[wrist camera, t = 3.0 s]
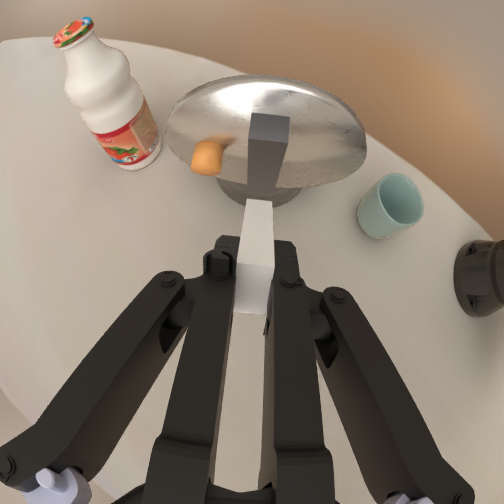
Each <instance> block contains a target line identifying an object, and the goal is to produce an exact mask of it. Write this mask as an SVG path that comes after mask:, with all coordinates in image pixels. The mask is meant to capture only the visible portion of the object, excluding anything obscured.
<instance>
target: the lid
mask: <svg viewBox="0 0 504 504" xmlns="http://www.w3.org/2000/svg"><path fill="white" fill-rule="evenodd" d="M166 141H167V143H168V146H169V148H170V149H171V150H172V152H173V153H174V154H175V155H176V156H177V157H178V158H179V159H180V160H182V161H183V162H184V163H186V164H188V165H189V166H191V170H192V171H193V172H195V173H197V174H200V175H206V176H214V177H217V178H220V179H224V180H228V181H232V182H237V183H241V184H247V195H248V196H258V197H267V198H272V196H273V193H274V190H275V187H276V188H299V187H310V186H318V185H323V184H328V183H331V182H335V181H338V180H341V179H343V178H345V177H347V176H349V175H351V174H352V173H354V172H355V171H356V170H357V169H359V168H360V166H361V165H362V164H363V162H364V160H365V158H366V153H367V146H366V135H365V129H364V127H363V124H362V122H361V121H360V119H359V117H358V116H357V114H356V113H355V112H354V111H353V110H352V109H351V108H350V107H349V106H348V105H347V104H346V103H345V102H343V101H342V100H341V99H339V98H338V97H336V96H334V95H333V94H331V93H329V92H328V91H326V90H324V89H321V88H319V87H317V86H314V85H312V84H309V83H306V82H303V81H299V80H296V79H291V78H286V77H280V76H272V75H239V76H233V77H227V78H222V79H218V80H215V81H211V82H208V83H206V84H204V85H201V86H199V87H197V88H195V89H193V90H192V91H190V92H189V93H187V94H186V95H184V96H183V97H182V98H181V99H180V100H179V101H178V102H177V103H176V105H175V106H174V107H173V109H172V112H171V114H170V117H169V120H168V124H167V127H166Z"/></svg>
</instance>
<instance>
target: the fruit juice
mask: <svg viewBox="0 0 504 504" xmlns="http://www.w3.org/2000/svg"><path fill="white" fill-rule="evenodd" d="M93 30H94V23H93V21H92V20H91V18H90V17H83V18H80V19H78V20H76V21H74V22H72V23H70V24H68V25H67V26H65V27H64V28H63V29H62V30H60V31H59V32H58V33H57V34H56V35H55V37H54V39H53V43H54V46H55V47H56V48H57V50H58V51H61V52H62V53H63V56H64V59H65V65H66V75H65V80H64V92H65V95H66V96H67V98H68V100H69V101H70V102H71V103H72V104H73V105H75V106H76V107H78V108H79V112H80V116H81V118H82V120H83V122H84V123H85V125H86V126H87V128H88V129H89V130H90V131H91V133H92V134H93V135H94V136H95V138H96V139H97V140H98V142H99V143H100V144H101V146H102V147H103V148H104V149H105V151H106V152H107V153H108V154H109V156H110V157H111V158H112V159H113V161H114V162H115V163H116V164H117V165H118V166H119V167H120V168H122V169H125V170H138V169H141V168H144V167H146V166H147V165H149V164H150V163H151V162H152V161H153V160H154V159H155V158H156V157H157V155H158V154H159V152H160V149H161V144H162V140H161V135H160V133H159V130H158V128H157V126H156V123H155V121H154V119H153V117H152V114H151V112H150V109H149V107H148V105H147V102H146V100H145V98H144V95H143V92H142V90H141V88H140V86H139V84H138V83H137V81H136V80H135V79H134V78H133V77H132V76H131V75H130V65H129V61H128V59H127V57H126V56H125V54H124V53H123V52H122V51H120V50H118V49H116V48H113V47H109V46H107V45H105V44H104V43H103V42H102V41H100V40H99V39H98V37H97V36H96V35H95V33H94V31H93Z"/></svg>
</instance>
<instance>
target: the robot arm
mask: <svg viewBox="0 0 504 504" xmlns="http://www.w3.org/2000/svg"><path fill="white" fill-rule="evenodd" d="M296 254H297V253H296V247H295V246H294V245H293V244H292V242H290V241H281V240H274V233H273V210H272V201H265V200H255V199H247V201H246V207H245V213H244V219H243V225H242V231H241V237H236V236H226V235H222V236H221V237H219V238H218V239H217V240H216V243H215V247H214V250H211V251H209V252H207V253H206V254H205V255H204V256H203V275H202V276H200V277H197V278H192V279H184V277H183V276H182V275H181V274H180V273H178V272H176V271H163V272H161V273H158V274H157V275H156V276H154V277H153V278H152V280H151V281H150V282H149V283H148V284H147V285H146V286H145V287H144V288H143V290H142V291H141V292H140V293H139V294H138V295H137V296H136V297H135V299H134V300H133V301H132V302H131V303H130V304H129V305H128V307H127V308H126V309H125V310H124V311H123V312H122V313H121V315H120V316H119V317H118V318H117V319H116V320H115V322H114V323H113V324H112V325H111V326H110V328H109V329H108V330H107V331H106V332H105V333H104V335H103V336H102V337H101V338H100V340H99V341H98V342H97V343H96V344H95V346H94V347H93V348H92V349H91V351H90V352H89V353H88V354H87V355H86V357H85V358H84V359H83V360H82V362H81V363H80V364H79V366H78V367H77V368H76V369H75V371H74V372H73V373H72V375H71V376H70V377H69V378H68V380H67V381H66V382H65V384H64V385H63V386H62V388H61V389H60V390H59V392H58V393H57V394H56V396H55V397H54V398H53V400H52V401H51V402H50V404H49V405H48V407H47V408H46V409H45V411H44V412H43V414H42V415H41V416H40V418H39V419H38V421H37V422H36V423H35V424H34V425H33V426H31V427H30V428H29V429H27V430H26V431H24V432H23V433H21V434H20V435H18V436H17V437H15V438H14V439H12V440H11V441H9V442H8V443H6V444H4V445H3V446H1V447H0V481H1V482H2V483H4V484H5V485H7V486H9V487H12V488H14V489H16V490H19V491H20V492H21V493H22V494H23V496H24V497H25V499H26V501H27V502H28V504H88V503H89V501H90V499H91V497H92V493H91V488H90V485H89V484H88V482H89V481H91V480H92V479H93V478H94V477H95V476H96V475H97V473H98V472H99V471H100V470H101V469H102V467H103V466H104V464H105V463H106V461H107V460H108V458H109V456H110V455H111V453H112V451H113V450H114V448H115V446H116V445H117V443H118V441H119V440H120V438H121V436H122V435H123V433H124V431H125V430H126V428H127V426H128V425H129V423H130V421H131V420H132V418H133V416H134V415H135V413H136V411H137V410H138V408H139V406H140V405H141V403H142V401H143V400H144V398H145V397H146V395H147V393H148V392H149V390H150V388H151V387H152V385H153V383H154V382H155V380H156V379H157V377H158V375H159V374H160V372H161V370H162V369H163V367H164V366H165V364H166V362H167V361H168V359H169V357H170V356H171V354H172V353H173V351H174V349H175V348H176V346H177V345H178V343H179V341H180V340H181V338H182V337H183V335H184V333H185V332H186V330H187V333H186V336H185V340H184V344H183V348H182V351H181V355H180V359H179V363H178V367H177V371H176V375H175V379H174V383H173V387H172V391H171V395H170V399H169V403H168V407H167V412H166V416H165V420H164V425H163V429H162V432H161V434H160V435H159V436H158V437H157V438H156V440H155V442H154V445H153V449H152V453H151V457H150V462H149V467H148V472H147V477H146V482H145V483H144V484H142V485H140V486H138V487H136V488H134V489H133V490H131V491H130V492H128V493H127V494H125V495H124V496H122V497H121V498H119V499H118V500H116V501H115V502H113V503H111V504H340V503H339V502H337V501H336V500H335V488H334V471H333V460H332V455H331V453H330V451H329V450H328V449H327V448H326V447H325V445H324V437H323V425H322V413H321V403H320V393H319V383H318V374H317V366H316V360H317V362H318V365H319V367H320V370H321V372H322V375H323V377H324V380H325V382H326V384H327V387H328V389H329V392H330V394H331V397H332V399H333V402H334V404H335V407H336V409H337V412H338V414H339V417H340V419H341V422H342V424H343V427H344V429H345V432H346V434H347V437H348V439H349V442H350V445H351V447H352V450H353V452H354V455H355V457H356V460H357V463H358V465H359V468H360V470H361V473H362V476H363V478H364V481H365V483H366V485H367V488H368V490H369V492H370V494H371V495H372V497H373V498H374V500H375V501H376V503H377V504H474V500H475V494H474V490H473V488H472V487H471V486H470V485H469V484H468V483H467V482H466V481H465V480H464V479H463V478H462V477H461V476H460V475H459V474H458V473H457V472H456V471H455V470H454V469H453V468H452V467H451V466H450V465H449V464H448V463H447V462H446V461H445V460H444V459H443V458H442V456H441V454H440V452H439V450H438V448H437V446H436V444H435V441H434V439H433V437H432V435H431V433H430V431H429V429H428V427H427V425H426V423H425V421H424V419H423V417H422V415H421V413H420V411H419V410H418V408H417V406H416V404H415V402H414V400H413V398H412V396H411V394H410V393H409V391H408V389H407V387H406V385H405V383H404V382H403V380H402V378H401V376H400V375H399V373H398V371H397V369H396V367H395V366H394V364H393V362H392V360H391V359H390V357H389V355H388V354H387V352H386V350H385V348H384V347H383V345H382V343H381V342H380V340H379V338H378V337H377V335H376V333H375V332H374V330H373V328H372V327H371V325H370V324H369V322H368V320H367V319H366V317H365V316H364V314H363V312H362V311H361V309H360V308H359V306H358V304H357V303H356V301H355V300H354V298H353V297H352V295H351V294H350V293H349V292H348V291H346V290H345V289H343V288H340V287H328V288H326V289H325V290H324V292H323V293H322V292H318V291H315V290H313V289H310V288H309V287H307V286H306V285H305V282H304V280H303V279H302V278H301V277H300V273H299V266H298V260H297V255H296ZM454 285H455V291H456V295H457V298H458V301H459V303H460V305H461V307H462V309H463V310H464V311H465V312H466V313H467V314H468V315H470V316H472V317H484V316H488V315H490V314H491V313H493V312H495V311H497V310H499V309H500V308H502V307H504V240H502V241H499V242H494V241H485V240H475V241H472V242H470V243H467V244H465V245H464V246H463V247H462V248H461V250H460V251H459V253H458V255H457V258H456V262H455V267H454ZM233 312H238V313H248V314H258V315H266V313H267V318H266V323H265V328H264V333H263V335H265V359H264V394H263V423H262V449H261V467H260V472H259V479H258V490H255V491H249V492H243V493H239V492H235V491H231V490H228V489H225V488H222V487H219V486H216V485H213V484H214V474H215V460H216V451H217V443H218V434H219V425H220V417H221V409H222V400H223V392H224V384H225V376H226V368H227V360H228V352H229V344H230V336H231V328H232V321H233ZM187 328H188V329H187Z"/></svg>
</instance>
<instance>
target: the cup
mask: <svg viewBox="0 0 504 504" xmlns="http://www.w3.org/2000/svg"><path fill="white" fill-rule="evenodd" d="M423 211H424V204H423V199H422V196H421V194H420V192H419V190H418V188H417V187H416V185H415V184H414V183H413V182H412V181H411V180H410V179H409V178H407V177H406V176H404V175H402V174H397V173H392V174H388V175H386V176H384V177H383V178H381V179H380V180H379V181H378V182H377V183H376V184H375V185H374V186H373V187H372V188H371V189H370V190H369V191H368V192H367V193H366V195H365V196H364V197H363V199H362V200H361V202H360V204H359V206H358V209H357V219H358V222H359V225H360V227H361V228H362V230H363V231H364V232H365V233H366V234H367V235H368V236H370V237H372V238H375V239H384V238H389V237H391V236H394V235H396V234H399V233H401V232H403V231H404V230H406V229H408V228H410V227H412V226H413V225H414V224H416V223H417V222H418V221H419V220H420V219H421V217H422V215H423Z"/></svg>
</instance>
